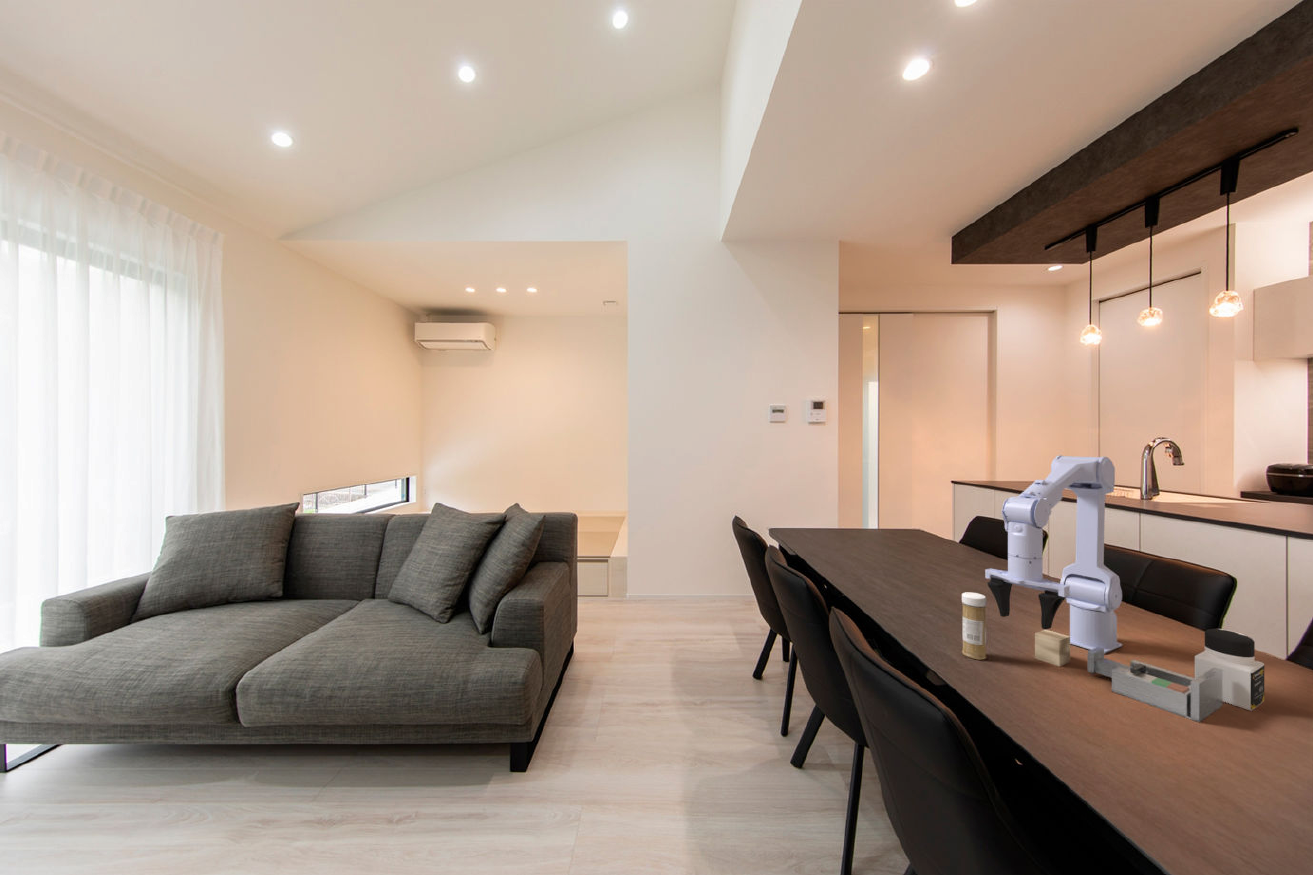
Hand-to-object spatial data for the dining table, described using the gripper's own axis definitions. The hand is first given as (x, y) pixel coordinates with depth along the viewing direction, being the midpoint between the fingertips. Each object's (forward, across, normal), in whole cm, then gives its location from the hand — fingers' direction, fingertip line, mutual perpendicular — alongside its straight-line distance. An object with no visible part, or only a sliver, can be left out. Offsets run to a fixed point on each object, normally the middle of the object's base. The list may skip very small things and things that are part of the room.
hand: (1024, 621), depth 101 cm
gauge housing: (+10, +18, +11) cm, 23 cm away
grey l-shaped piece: (+9, +11, +9) cm, 17 cm away
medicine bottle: (+10, +23, +22) cm, 33 cm away
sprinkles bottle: (+10, -9, -2) cm, 14 cm away
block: (+10, 0, +11) cm, 15 cm away
